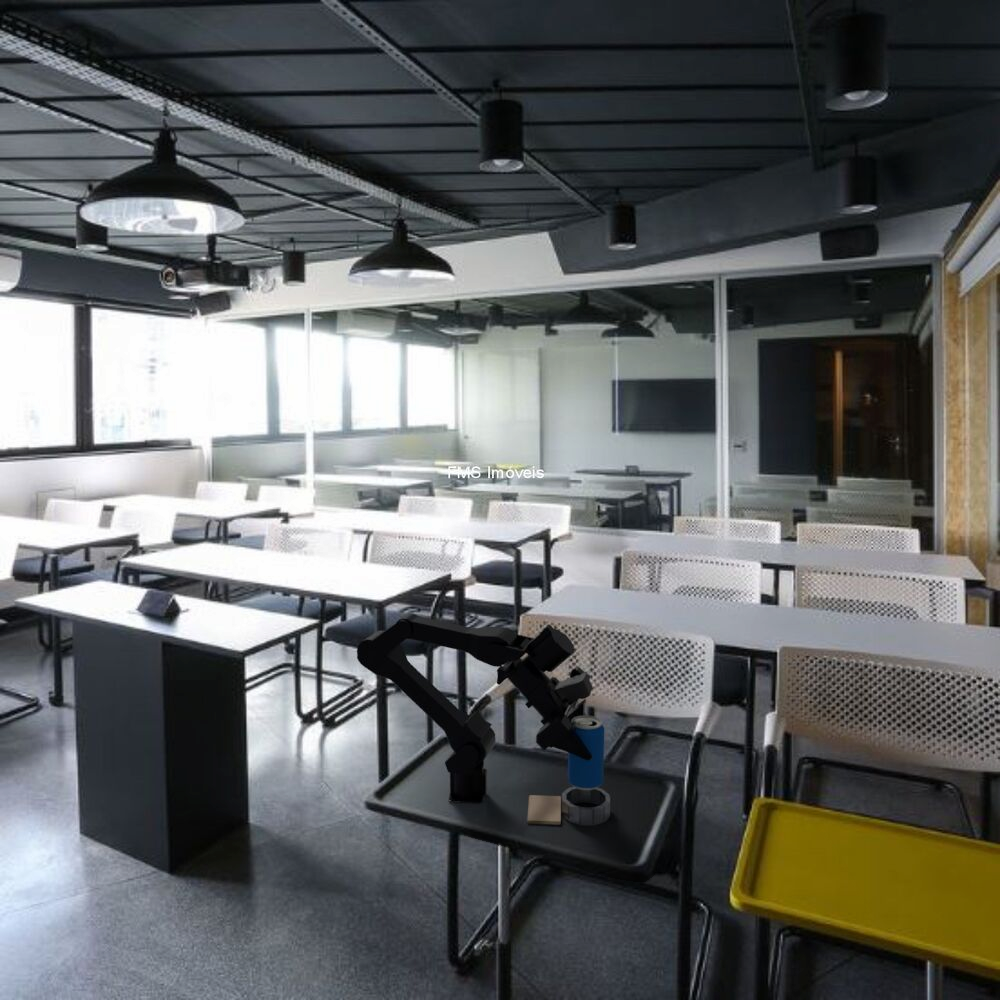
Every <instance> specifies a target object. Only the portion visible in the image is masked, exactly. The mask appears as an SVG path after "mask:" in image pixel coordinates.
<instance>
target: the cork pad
mask: <svg viewBox="0 0 1000 1000" xmlns="http://www.w3.org/2000/svg"><path fill="white" fill-rule="evenodd" d="M527 808H528V809H527V819H526V822H527V823H526V824H530V825H531V824H535V825H559V826H560V825H562V823H561V821H562V795H561V796H560V795H535V794H534V795H531V794H530V795H529V796H528V807H527Z"/></svg>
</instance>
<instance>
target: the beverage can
mask: <svg viewBox="0 0 1000 1000" xmlns="http://www.w3.org/2000/svg"><path fill="white" fill-rule="evenodd" d="M574 721H575V722H576V734H577V735H578V736H579V738H580V739H581V741H582V742H583V743H584V745H585V746H586V748H587V749H588V750H589V752H590V754H591V755H592V758H591V759H590V760H588V761H587V760H585V759H583V758H580V757H578V756H575V755H573V754H571V753H568V752H567V780H568V782H569V784H570V785H572V787H575V788H577V789H580V790H593V789H596V788H599V787H600V786H601V785H603V783H604V769H605V768H604V762H605V761H604V760H605V727H604V725H603V721H602V719H600V718H599V717H596V716H593V715H587V714H586V715H583V716H577V717H574V718H573V719H572V720H571V724H572V723H573V722H574Z"/></svg>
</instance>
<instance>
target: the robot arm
mask: <svg viewBox="0 0 1000 1000" xmlns="http://www.w3.org/2000/svg"><path fill="white" fill-rule="evenodd" d="M406 640H413V641H417V642H422V643H425V644H430V645H435V646H439V647H442V648H443V647H444V648H448V649H451V650H452V649H453V650H457V651H462V652H463V653H464V652H465V653H467V654H469V655H470V656H471V657H473V658H474V659H475V660H477V661H479V662H482V663H484V664H487V665H489V666H492V667H498V668H497V670H496V672H497V673H496V674H497V678H496V684H497V685H498V686H500V685H502V683H503V682H505V681H506V680H508V681H509V682H510V683H511V684H512V686H514V688H515V689H516V690H517V691H518V692H519V693H520V694H521V695H522V697H523V698H524V699H526V702H525V706H526V707H527V708H528V709H530V708H531V707H533V708H534V710H535V711H536V712H537V714H539V715H540V716H541V717H542V718H541V720H540V722H541V724H542V726H541V727H540V728H539V730H538V732H537V734H536V736H535V743H536V745H538V747H540V749H541V750H542V751H545V750H547V749H548V748H550V749H551V748H555V749H558V750H561V751H564V752H566V753H567V754H568V753H571V754H573V755H575V756H578V757H580V758H583V759H585V760H587V761H588V760H590V759H591V758H592V755H591V754H590V752H589V750H588V749H587V748H586V746H585V745H584V743H583V742H582V741H581V739H580V738H579V736H578V735H577V734H576V722H575V721H574V722H573V723H572V724H571V720H572V719H573V718H574V717H577V716H583V715H587V714H586V704H587V698H588V697H590V696H591V694H592V693H591V692H592V691H593V690H594V687H593V685H592V683H591V675H590V674H589V673H588V672H587V671H586V670H585V671H584V670H583V669H582V668H581V667H580V666H576V667H574V668H572V669H571V670H570V672H569V677H566V678H565V679H564V680H561V681H560V680H559V679H558V678H557V677H554V676H552V677H549V676H548V675H547V674H546V672H549V673H552V672H554V671H555V670H556V669H557V668H558V667H560V666H561V665H562V664H563V663H564V662H566V661H567V660H568V659H569V658H570V657H572V655H574V654H575V647H574V644H573V642H572V640H571V639H570V638H569V636H568V635H567V634H566V633H563V632H562V631H560V629H557V628H554V627H553V626H552V624H547V625H546V626H545V627H544V628H543V629H542V631H541V632H540V633H538V635H536V636H535V637H531V636H526V635H523V634H518V633H515V631H514V630H513V629H511V628H508V627H504V626H482V627H470V626H466V625H461V624H457V623H456V624H455V623H451V622H446V621H442V620H438V619H435V618H430V617H429V618H428V617H424V616H420V615H417V614H415V613H407V614H405V615H404V616H402V617H401V618H400V619H398V620H397V621H396V623H395V624H393V625H391V627H389V628H388V629H386V630H378V631H375V632H374V633H372V634H371V635H370V636H368V637H366V638H365V639H363V640H362V641H361V642H360V643H359V644H358V645H357V649H356V659H357V661H358V662H359V664H360V665H362V666H363V667H364V668H365V669H367V670H368V671H370V672H371V673H373V674H374V675H376V676H378V677H381V678H384V679H387V680H390V681H391V682H392V683H393V684H394V685H396V687H397V688H399V690H401V691H402V692H403V693H404V695H406V696H407V697H408V698H409V699H410V700H411V701H412V702H413V703H414V704H415V705H416V706H417V707H418V708H419V709H420V710H422V712H423V713H425V714H426V715H427V716H428V717H429V718H430V719H431V720H432V721H433V722H434V723H435V724H436V725H438V727H439V728H440V729H441V730H442V731H443V732H444V734H445V736H446V738H447V741H448V743H449V745H450V746H449V747H450V748H451V749H452V753H451V754H450V755H449V757H447V759H446V760H445V762H444V765H445V767H446V770H447V772H448V773H449V791H450V792H449V795H448V801H449V800H451V801H460V802H459V803H472V804H473V803H475V804H480V803H483V802H484V801H483V800H484V796H486V794H487V791H488V770H487V768H485V759H486V758H487V756H488V755H489V754H490V752H491V751H492V750H493V748H494V746H495V745H496V733H495V731H494V729H493V728H492V727H491V726H492V723H490V722H488V721H487V720H485V719H484V717H483V716H482V715H481V714H480V712H478V711H477V710H475V711H474V712H473V713H472V714H467V713H465V712H463V711H461V710H460V709H459V708H458V707H457V706H456V705H454V704H453V702H452V701H451V700H449V699H448V697H446V696H445V695H444V694H443V693H442V692H441V691H440V690H439V689H438V688H437V687H436V686H435V685H433V683H432V682H431V681H430V680H429V679H427V678H426V677H425V676H424V675H423V674H422V673H421V672H420V671H419V670H418V669H417V668H416V667H415V666H414V665H413V664H412V663H410V662H409V661H410V660H408V658H407V655H406V652H405V649H404V647H403V646H402V645H401V643H403V642H404V641H406ZM524 655H526V656H525V657H524ZM522 657H523V658H522ZM508 662H510V663H508ZM507 663H508V664H507ZM505 664H507V665H505ZM504 665H505V666H504ZM579 700H582V701H579Z"/></svg>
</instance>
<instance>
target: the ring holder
mask: <svg viewBox="0 0 1000 1000" xmlns="http://www.w3.org/2000/svg"><path fill="white" fill-rule="evenodd" d="M579 803H586V804H587V803H590V804H593V805H596V806H593V807H587V806H586V807H585V806H584V807H583V806H578V805H575V804H579ZM561 817H563V818H565V820H566V821H568V822H570V823H573V824H576V825H578V826H590V827H591V826H597V825H601V824H604V823H605V822H606V821H607V820H608V819H610V817H611V796H610V794H609V793H608V792H607V791H606V790H604V789H603V788H600V787H597V788H596V789H593V790H580V789H577V788H575V787H574V786H570V787H568V788H567V789H565V790H564V791H563V792H561Z"/></svg>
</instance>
